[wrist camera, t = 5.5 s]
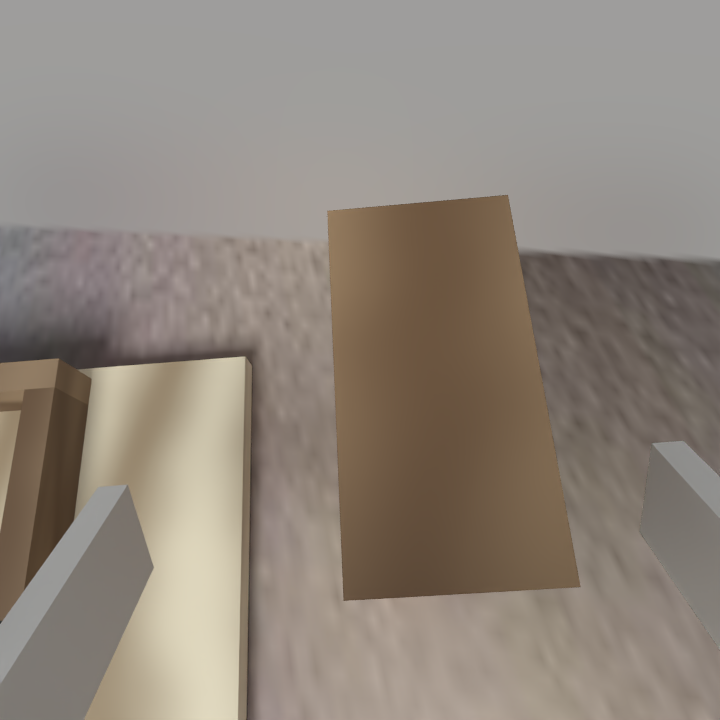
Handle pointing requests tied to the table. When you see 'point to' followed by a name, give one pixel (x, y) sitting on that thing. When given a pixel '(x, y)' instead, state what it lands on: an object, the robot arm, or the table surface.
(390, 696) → the table surface
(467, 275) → the brown rectangular block
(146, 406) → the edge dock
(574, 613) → the table surface
